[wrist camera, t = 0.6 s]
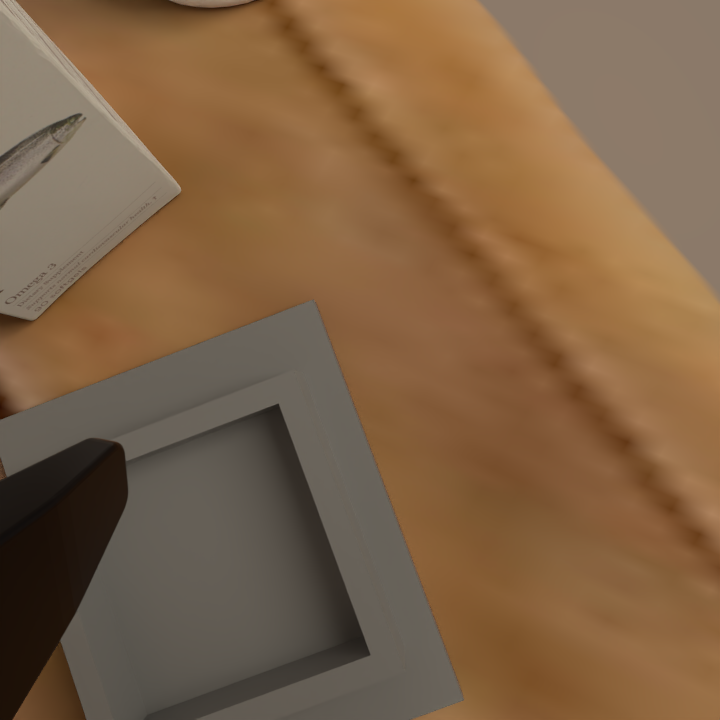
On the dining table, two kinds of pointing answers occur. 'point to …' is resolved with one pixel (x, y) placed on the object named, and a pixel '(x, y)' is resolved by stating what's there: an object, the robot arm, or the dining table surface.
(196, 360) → the tray
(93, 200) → the supplement box
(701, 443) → the dining table surface
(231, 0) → the white round disc
